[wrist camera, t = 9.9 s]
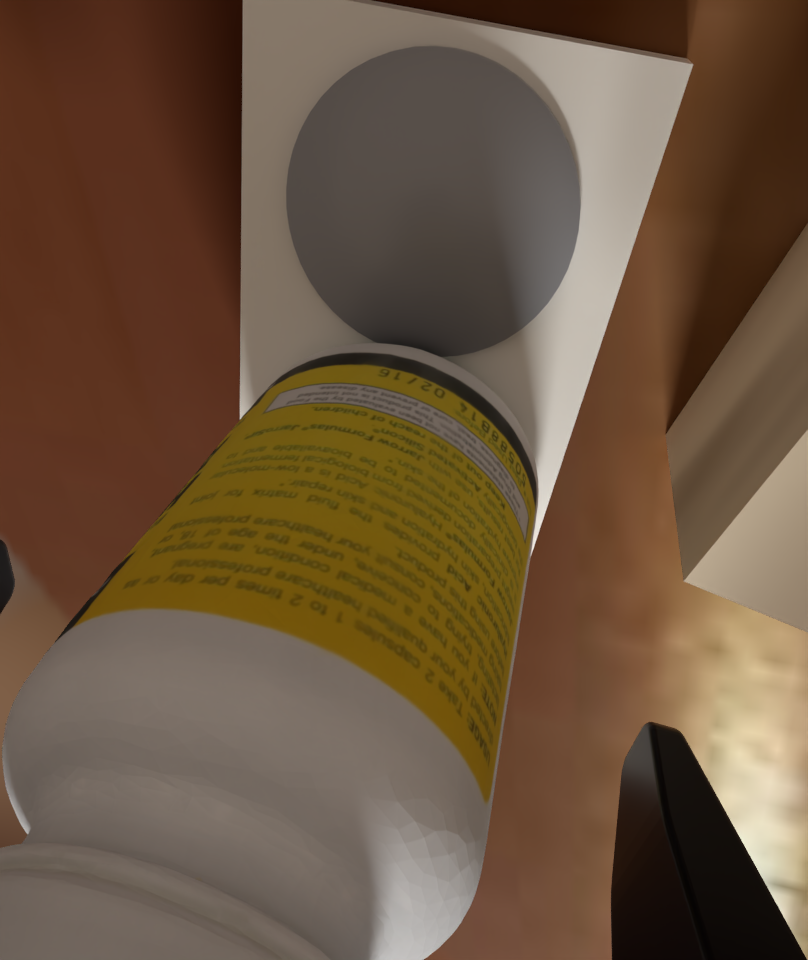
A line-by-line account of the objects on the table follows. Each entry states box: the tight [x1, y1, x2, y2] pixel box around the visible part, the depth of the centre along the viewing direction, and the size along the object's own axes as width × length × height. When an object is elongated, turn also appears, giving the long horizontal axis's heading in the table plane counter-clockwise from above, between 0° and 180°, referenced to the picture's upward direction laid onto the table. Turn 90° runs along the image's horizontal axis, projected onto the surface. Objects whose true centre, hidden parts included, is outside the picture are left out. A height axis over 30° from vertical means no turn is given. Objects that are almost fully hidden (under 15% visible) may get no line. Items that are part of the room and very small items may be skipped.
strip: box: [240, 0, 693, 557], centre depth 14 cm, size 6×14×1 cm, turn 173°
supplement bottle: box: [0, 343, 539, 960], centre depth 10 cm, size 5×5×10 cm
